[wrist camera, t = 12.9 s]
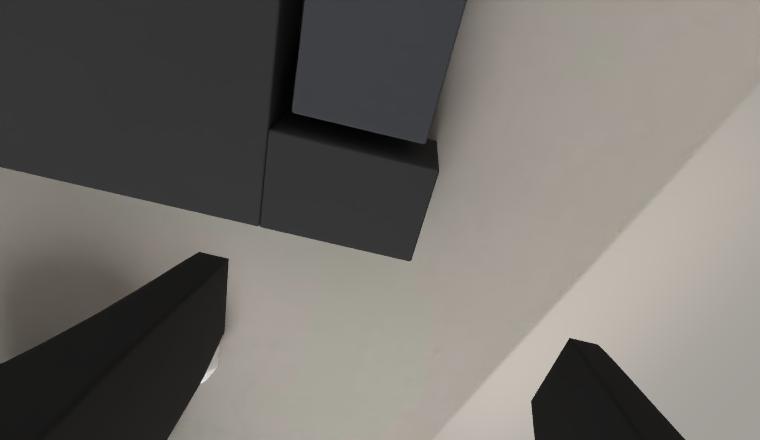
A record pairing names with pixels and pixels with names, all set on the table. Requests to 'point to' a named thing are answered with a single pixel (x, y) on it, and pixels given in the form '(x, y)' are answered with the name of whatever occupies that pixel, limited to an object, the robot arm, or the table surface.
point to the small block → (375, 63)
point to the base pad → (200, 119)
